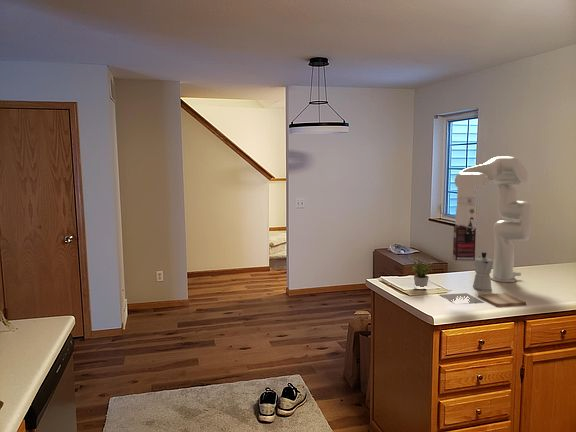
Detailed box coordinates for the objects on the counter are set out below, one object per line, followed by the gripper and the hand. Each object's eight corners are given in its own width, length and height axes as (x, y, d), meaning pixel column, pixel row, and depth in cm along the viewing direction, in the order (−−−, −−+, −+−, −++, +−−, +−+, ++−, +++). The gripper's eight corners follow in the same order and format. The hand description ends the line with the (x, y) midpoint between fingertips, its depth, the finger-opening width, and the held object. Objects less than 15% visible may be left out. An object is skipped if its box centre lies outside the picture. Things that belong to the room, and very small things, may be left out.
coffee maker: (495, 292, 209) (497, 255, 207) (475, 291, 211) (477, 254, 209) (487, 284, 224) (489, 249, 222) (469, 283, 226) (470, 248, 224)
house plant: (397, 287, 217) (398, 255, 215) (413, 282, 226) (414, 251, 224) (422, 294, 206) (423, 260, 205) (438, 288, 215) (439, 256, 213)
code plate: (466, 293, 208) (466, 293, 208) (484, 302, 194) (484, 302, 194) (439, 295, 205) (439, 294, 205) (455, 304, 192) (455, 303, 192)
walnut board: (505, 295, 204) (505, 292, 204) (526, 304, 191) (526, 302, 190) (477, 296, 202) (478, 294, 202) (496, 306, 188) (497, 303, 188)
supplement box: (471, 260, 200) (473, 225, 198) (474, 262, 195) (476, 227, 193) (451, 259, 201) (453, 225, 198) (455, 262, 196) (456, 227, 194)
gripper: (485, 202, 187) (483, 244, 189) (463, 199, 203) (461, 237, 206) (469, 203, 185) (467, 245, 188) (448, 199, 202) (446, 238, 204)
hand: (464, 240), depth 197 cm, fingers closed on supplement box, 5 cm apart
